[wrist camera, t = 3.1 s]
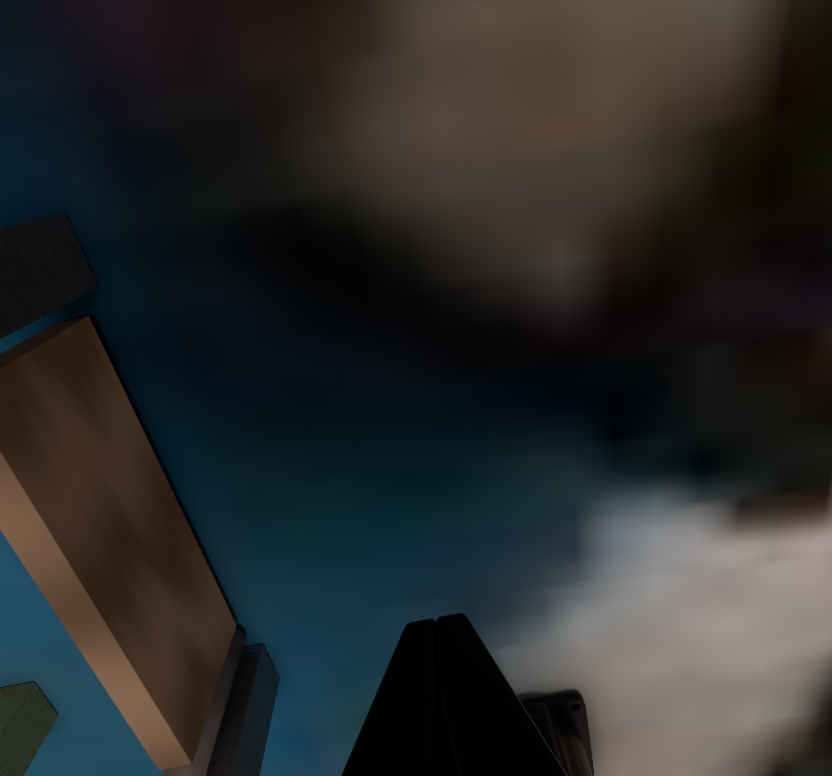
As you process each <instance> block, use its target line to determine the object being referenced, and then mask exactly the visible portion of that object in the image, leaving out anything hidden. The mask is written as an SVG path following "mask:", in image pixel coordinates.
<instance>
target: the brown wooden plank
mask: <svg viewBox="0 0 832 776" xmlns="http://www.w3.org/2000/svg"><path fill="white" fill-rule="evenodd" d="M0 530H1V531H2V533H3V534H4V536H5V537H6V539H7V540H8V542H9V543H10V545H11V546H12V548H13V549H14V551H15V552H16V554H17V555H18V557H19V559H20V560H21V562H22V563H23V565H24V566H25V568H26V569H27V571H28V572H29V574H30V575H31V577H32V578H33V580H34V581H35V583H36V584H37V586H38V587H39V589H40V590H41V592H42V593H43V595H44V597H45V598H46V600H47V601H48V603H49V604H50V606H51V607H52V609H53V610H54V612H55V613H56V615H57V616H58V618H59V619H60V621H61V622H62V624H63V625H64V627H65V628H66V630H67V631H68V633H69V635H70V636H71V638H72V639H73V641H74V642H75V644H76V645H77V647H78V648H79V650H80V651H81V653H82V654H83V656H84V657H85V659H86V660H87V662H88V663H89V665H90V666H91V668H92V669H93V671H94V672H95V674H96V676H97V677H98V679H99V680H100V682H101V683H102V685H103V686H104V688H105V689H106V691H107V692H108V694H109V695H110V697H111V698H112V700H113V701H114V703H115V704H116V706H117V707H118V709H119V710H120V712H121V714H122V715H123V717H124V718H125V720H126V721H127V723H128V724H129V726H130V727H131V729H132V730H133V732H134V733H135V735H136V736H137V738H138V739H139V741H140V742H141V744H142V745H143V747H144V748H145V750H146V751H147V753H148V755H149V756H150V758H151V759H152V761H153V762H154V764H155V765H156V767H157V768H158V770H163V769H165V771H164V774H163V776H205V775H206V772H207V769H208V765H209V762H210V758H211V755H212V751H213V748H214V745H215V741H216V738H217V734H218V731H219V727H220V724H221V721H222V717H223V714H224V710H225V707H226V703H227V700H228V697H229V693H230V690H231V686H232V683H233V679H234V676H235V673H236V669H237V666H238V662H239V659H240V655H241V652H242V649H243V645H244V642H245V637H244V635H243V633H242V632H241V631H239V630H238V629H235V628H236V623H235V621H234V619H233V617H232V615H231V612H230V610H229V608H228V606H227V604H226V602H225V600H224V598H223V596H222V594H221V592H220V589H219V587H218V585H217V583H216V581H215V579H214V577H213V575H212V573H211V571H210V569H209V567H208V564H207V562H206V560H205V558H204V556H203V554H202V552H201V550H200V548H199V546H198V544H197V541H196V539H195V537H194V535H193V533H192V531H191V529H190V527H189V525H188V523H187V521H186V518H185V516H184V514H183V512H182V510H181V508H180V506H179V504H178V502H177V500H176V498H175V496H174V493H173V491H172V489H171V487H170V485H169V483H168V481H167V479H166V477H165V475H164V473H163V470H162V468H161V466H160V464H159V462H158V460H157V458H156V456H155V454H154V452H153V450H152V447H151V445H150V443H149V441H148V439H147V437H146V435H145V433H144V431H143V429H142V427H141V425H140V422H139V420H138V418H137V416H136V414H135V412H134V410H133V408H132V406H131V404H130V402H129V399H128V397H127V395H126V393H125V391H124V389H123V387H122V385H121V383H120V381H119V379H118V376H117V374H116V372H115V370H114V368H113V366H112V364H111V362H110V360H109V358H108V356H107V353H106V351H105V349H104V347H103V345H102V343H101V341H100V339H99V337H98V335H97V333H96V331H95V328H94V326H93V324H92V322H91V320H90V318H89V316H86V317H82V318H77V319H73V320H68V321H64V322H59V323H55V324H53V325H51V326H49V327H48V328H46V329H44V330H42V331H41V332H39V333H37V334H35V335H34V336H32V337H30V338H28V339H26V340H25V341H23V342H21V343H19V344H18V345H16V346H14V347H12V348H11V349H9V350H7V351H5V352H3V353H2V354H0Z"/></svg>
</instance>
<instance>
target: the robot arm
mask: <svg viewBox="0 0 832 776" xmlns="http://www.w3.org/2000/svg"><path fill="white" fill-rule="evenodd" d="M341 776H594V768H593V760H592V753H591V745H590V737H589V729H588V721H587V714H586V706H585V703H584V700H583V697H582V695H580V694H578V693H570V694H564V695H558V696H553V697H547V698H541V699H536V700H530V701H524V702H520V700H519V699H518V697H517V695H516V694H515V692H514V691H513V689H512V687H511V686H510V684H509V683H508V681H507V680H506V678H505V676H504V675H503V673H502V672H501V670H500V669H499V667H498V665H497V664H496V662H495V661H494V659H493V657H492V656H491V654H490V653H489V651H488V650H487V648H486V646H485V645H484V643H483V642H482V640H481V638H480V637H479V635H478V634H477V632H476V631H475V629H474V627H473V626H472V624H471V623H470V621H469V620H468V618H467V617H466V615H464V614H463V613H458V614H453V615H447V616H442V617H439V618H438V619H437V621H436V622H435V620H433V619H426V620H421V621H415V622H410V623H408V624H407V625H406V626H405V628H404V630H403V632H402V635H401V637H400V639H399V642H398V644H397V646H396V649H395V651H394V653H393V656H392V658H391V660H390V663H389V665H388V667H387V670H386V672H385V674H384V677H383V679H382V681H381V684H380V686H379V689H378V691H377V693H376V696H375V698H374V700H373V703H372V705H371V707H370V710H369V712H368V714H367V717H366V719H365V721H364V724H363V726H362V728H361V731H360V733H359V735H358V738H357V740H356V742H355V745H354V747H353V749H352V752H351V754H350V756H349V759H348V761H347V763H346V766H345V768H344V770H343V773H342V775H341Z"/></svg>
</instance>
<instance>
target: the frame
mask: <svg viewBox="0 0 832 776" xmlns="http://www.w3.org/2000/svg"><path fill="white" fill-rule="evenodd" d="M98 287H99V285H98V283H97V281H96V279H95V277H94V274H93V272H92V270H91V268H90V266H89V264H88V261H87V259H86V257H85V255H84V253H83V250H82V248H81V246H80V244H79V242H78V240H77V237H76V235H75V233H74V231H73V229H72V227H71V224H70V222H69V220H68V218H67V216H66V214H62V215H58V216H53V217H49V218H45V219H41V220H36V221H32V222H28V223H24V224H19V225H15V226H11V227H7V228H2V229H0V339H1V338H3V337H5V336H7V335H9V334H10V333H12V332H14V331H16V330H18V329H20V328H22V327H24V326H26V325H28V324H30V323H31V322H33V321H35V320H37V319H39V318H41V317H43V316H45V315H47V314H49V313H50V312H52V311H54V310H56V309H58V308H60V307H62V306H64V305H66V304H68V303H69V302H71V301H73V300H75V299H77V298H79V297H81V296H83V295H85V294H87V293H89V292H90V291H92V290H94V289H96V288H98ZM278 684H279V677H278V674H277V672H276V670H275V668H274V666H273V664H272V661H271V659H270V657H269V655H268V653H267V651H266V648H265V646H264V644H259V645H254V646H248V647H243V649H242V652H241V655H240V659H239V662H238V666H237V669H236V673H235V676H234V679H233V683H232V686H231V690H230V693H229V697H228V700H227V703H226V707H225V710H224V714H223V717H222V721H221V724H220V727H219V731H218V734H217V738H216V741H215V745H214V748H213V751H212V755H211V758H210V762H209V765H208V769H207V772H206V775H205V776H259V775H260V771H261V766H262V761H263V756H264V751H265V747H266V742H267V737H268V732H269V727H270V722H271V718H272V713H273V708H274V703H275V698H276V694H277V689H278ZM57 717H58V714H57V712H56V711H55V710H54V708H53V707H52V706H51V704H50V703H49V702H48V700H47V699H46V697H45V696H44V695H43V693H42V692H41V691H40V689H39V688H38V686H37V685H36V684H35V682H31V683H25V684H20V685H15V686H9V687H4V688H0V776H24V774H25V772H26V771H27V769H28V767H29V765H30V764H31V762H32V760H33V758H34V757H35V755H36V753H37V751H38V750H39V748H40V746H41V745H42V743H43V741H44V739H45V738H46V736H47V734H48V732H49V731H50V729H51V727H52V725H53V724H54V722H55V720H56V718H57Z"/></svg>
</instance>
